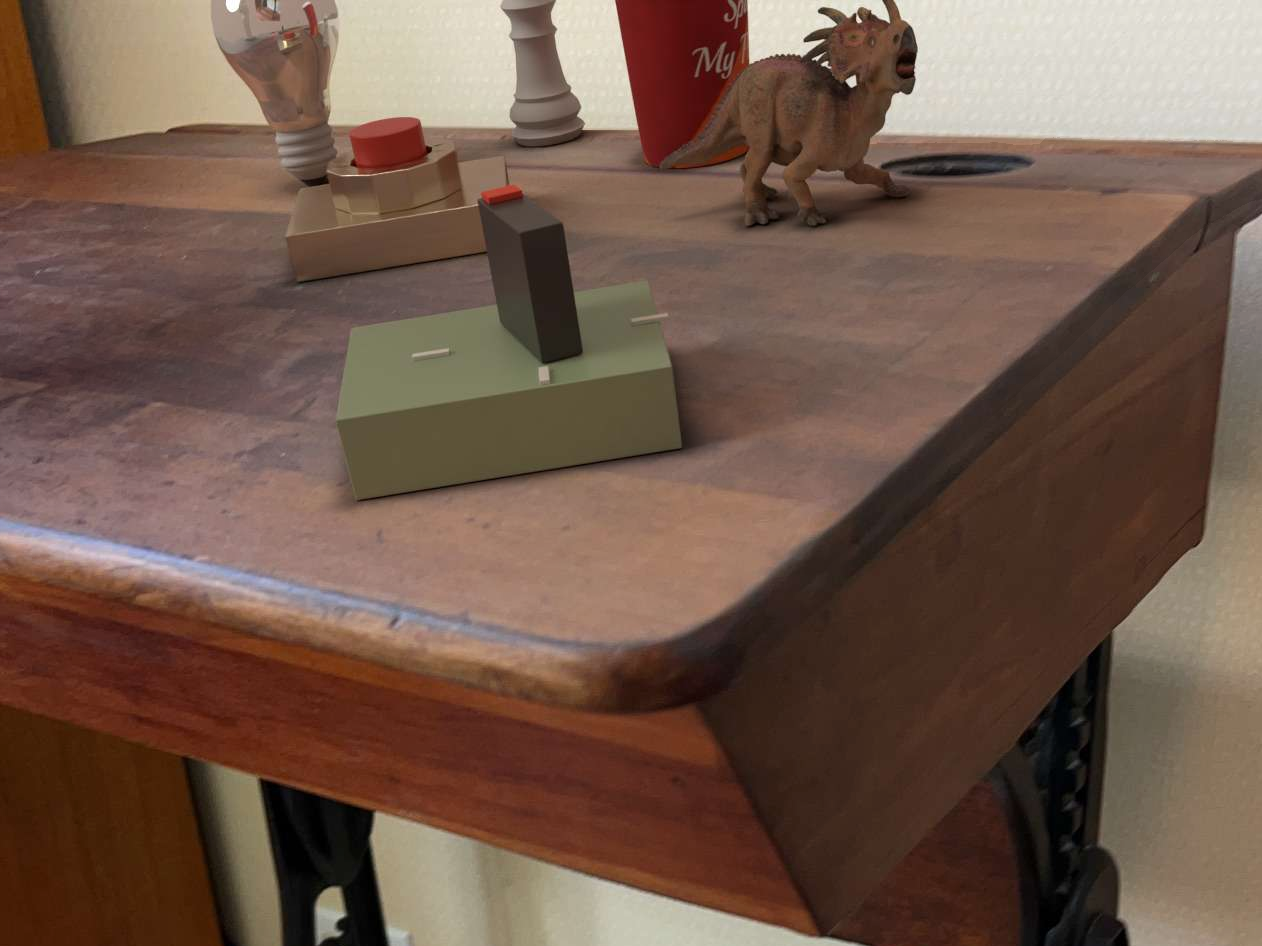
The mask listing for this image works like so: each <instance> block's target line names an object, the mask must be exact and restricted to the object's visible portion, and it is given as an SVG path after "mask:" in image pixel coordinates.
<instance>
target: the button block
mask: <svg viewBox="0 0 1262 946" xmlns="http://www.w3.org/2000/svg"><path fill="white" fill-rule="evenodd" d="M424 141H425V146H426V151H427V155H426V156H424V157H422V158H420V159H417V160H414V161H411V162H407V163H404V164H400V165H393V166H387V167H381V168H357V166H356V162H355V157H354V153H353V149H352V150H349V151H346V152H345V153H343V154H341V155H339V156H336V158H335V159H333V160H332V161H330V162H329V164H328V167H327V179H328V183H325V184H318V185H311V186H306V187H301V188H299V191H298V194H297V198H296V201H295V204H294V207H293V209H292V213H291V217H290V220H289V223H288V225H287V226H288V227H287V229H286V233H285V235H284V237H285V241H286V245H287V248H288V252H289V256H290V260H291V263H292V267H293V271H294V275H295V278H296V282H297V283H303V282H309V281H315V280H321V279H327V278H332V277H340V276H344V275H351V274H357V273H364V272H370V271H376V270H383V269H387V268H394V267H400V266H401V267H402V266H407V265H413V264H419V263H426V262H433V261H437V260H444V259H450V258H451V259H452V258H457V257H462V256H470V255H475V254H482V253H487V249H486V244H485V239H484V233H483V228H482V223H481V217H480V212H479V207H478V201H477V200H478V199H480V198H482V195H481V192H484V191H488V190H493V189H497V188H501V187H505V186H510V185H511V184H510V180H509V173H508V168H507V162H506V158H505V157H506V156H505V155H498V156H492V157H485V158H479V159H473V160H467V161H461V162H460V160H459V156H458V150H457V144H456V142H455V141H454V140H450V139H446V138H443V137H437V136H435V137H424Z"/></svg>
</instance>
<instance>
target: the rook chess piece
mask: <svg viewBox="0 0 1262 946" xmlns="http://www.w3.org/2000/svg"><path fill="white" fill-rule="evenodd" d="M556 2H557V0H502V1H501V3H500V6H499V8H500V9H501V10H502V12H503V13H504V15H506V16H507V18H508V19H509V21H510V26H511V30H510V32H509V35H508V37H509V38H510V40H511V41H512V43H513V48H514V54H515V71H516V73H515V74H516V76H515V77H516V85H515V92H514V93H513V99H514V102H513V103H512V105H511V107H510V109H509V119H510V121H511V122H512V123H513V124H514V125H515V127H514V128H513V130H512V131H511V133H510V134H511V136H512V138H513V139H514V140H515V141H516V143H518V144H519V145H520V146H523V147H545V146H551V145H558V144H561V143H564V142H568V141H571V140H573V139H575V138H578V137H579V136H580V134H582V131H583V129H584V127H585V124H586V122H585V121H584V120H583V119H582V118H580V117H579V116H578V115H579V113H580V111H581V109H582V105H581V102H580V100H579V99H578V97H577V96H576V95H575V94H574V93H573V92H572V87H571V84H570V83H568V82H567V80H566V77H565V75H564V72H563V68H562V63H561V61H560V57H559V53H558V49H557V42H556V36H555V35H556V33H557V31H558V28H557V26H556V25H554V23H553V20H552V19H553V18H552V11H553V9H554V7H555V4H556Z"/></svg>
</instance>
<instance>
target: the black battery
mask: <svg viewBox="0 0 1262 946" xmlns="http://www.w3.org/2000/svg"><path fill="white" fill-rule="evenodd" d="M481 195H482V198H480V199H478V200H477V201H478V207H479V212H480V217H481V223H482V228H483V233H484V239H485V244H486V249H487V252H486V254H487V260H488V265H489V269H490V270H489V271H490V275H491V276H490V277H491V281H492V287H493V291H494V296H495V303H496V305H497V308H498V313H499V319H500V323H501V324H502V325H503V326H504V327H505V328H506V329H507V330H508V331H509V332H510V333H511V334H513V335H514V336H515V337H516V338H517V339H518V340H519V341H520V342H521V343H522V344H523V345H524V346H525V347H526V348H527V349H528V350H529V351H530V352H531V353H532V354H533V355H534V356H535V357H536V358H537V359H538V360H539V361H540V362H541V363H546V362H550V361H554V360H558V359H562V358H566V357H569V356H573V355H577V354H581V353H583V348H582V341H581V335H580V329H579V322H578V316H577V310H576V303H575V297H574V292H575V291H574V285H573V277H572V272H571V265H570V259H569V253H568V246H567V240H566V235H565V228H564V223H563V222H562V221H561V220H560V219H559V218H557V217H556V216H554V215H553V214H552V213H550V212H549V211H547V210H546V209H545V208H544V207H542V206H541V205H539V204H538V203H536V202H535V201H534V200H532V199H531V198H530V197H528V196H527V195H526V194H525V193H523V190H522V189H521V188H520V187H518V186H517V185H516V184H510V186H505V187H501V188H497V189H493V190H488V191H484V192H481Z"/></svg>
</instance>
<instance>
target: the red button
mask: <svg viewBox="0 0 1262 946" xmlns="http://www.w3.org/2000/svg"><path fill="white" fill-rule="evenodd" d="M348 136H349V140H350V144H351V148H352V150H353V153H354V157H355V162H356V166H357V168H381V167H387V166H393V165H400V164H404V163H407V162H411V161H414V160H417V159H420V158H422V157H424V156H426V155H427V151H426V146H425V141H424V138H425V136H424V131H423V126H422V122H421V119H419V118H417V117H412V116H397V117H389V118H383V119H377V120H373V121H370V122H366V123H363V124H360V125H357V126H356V127H354V128H353V129H351V130H350V131H349V135H348Z"/></svg>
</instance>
